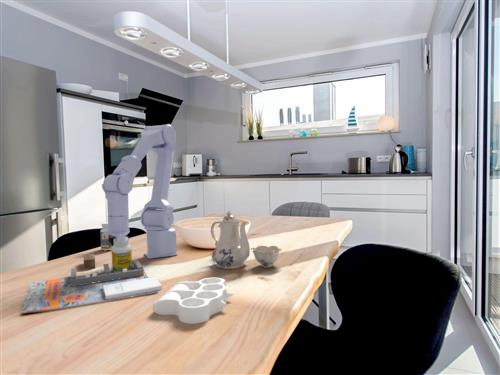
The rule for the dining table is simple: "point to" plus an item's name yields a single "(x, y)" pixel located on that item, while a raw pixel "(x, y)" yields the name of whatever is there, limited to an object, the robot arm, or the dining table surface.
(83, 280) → the slot rack
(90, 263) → the walnut bar
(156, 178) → the robot arm
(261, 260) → the chinaware
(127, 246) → the supplement bottle
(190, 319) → the white egg tray
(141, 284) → the external hard drive
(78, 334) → the dining table surface
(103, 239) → the pill bottle
